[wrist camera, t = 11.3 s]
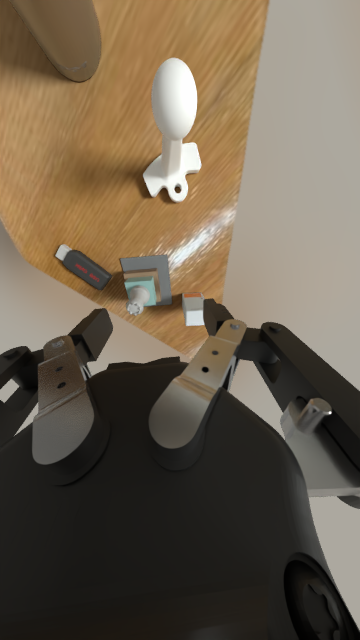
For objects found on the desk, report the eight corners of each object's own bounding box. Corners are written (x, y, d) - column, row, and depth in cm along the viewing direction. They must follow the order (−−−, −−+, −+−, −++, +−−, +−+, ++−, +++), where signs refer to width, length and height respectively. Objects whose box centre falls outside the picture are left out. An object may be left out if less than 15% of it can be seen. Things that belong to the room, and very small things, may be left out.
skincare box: (201, 291, 43) (212, 309, 33) (200, 304, 46) (210, 325, 35) (181, 292, 43) (185, 311, 33) (181, 305, 45) (185, 326, 35)
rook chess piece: (140, 306, 35) (133, 323, 28) (126, 292, 33) (115, 307, 26) (154, 295, 34) (151, 311, 27) (140, 280, 32) (133, 293, 25)
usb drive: (103, 288, 41) (99, 292, 39) (58, 258, 36) (51, 259, 34) (113, 275, 39) (109, 277, 37) (67, 241, 34) (60, 241, 32)
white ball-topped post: (191, 140, 27) (232, -13, 10) (204, 189, 31) (249, 135, 14) (141, 172, 29) (104, 84, 12) (159, 214, 33) (150, 193, 16)
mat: (120, 258, 37) (120, 258, 37) (167, 254, 37) (167, 254, 37) (133, 307, 44) (133, 307, 44) (172, 303, 45) (172, 304, 44)
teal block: (128, 278, 35) (124, 282, 32) (152, 275, 35) (151, 280, 32) (134, 300, 38) (130, 307, 35) (156, 298, 39) (155, 304, 35)
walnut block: (127, 270, 38) (123, 274, 35) (157, 268, 38) (156, 271, 35) (134, 298, 42) (131, 304, 39) (161, 296, 43) (160, 301, 39)
